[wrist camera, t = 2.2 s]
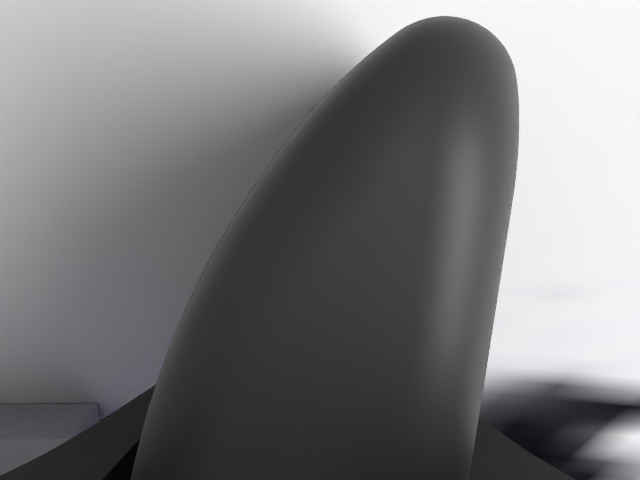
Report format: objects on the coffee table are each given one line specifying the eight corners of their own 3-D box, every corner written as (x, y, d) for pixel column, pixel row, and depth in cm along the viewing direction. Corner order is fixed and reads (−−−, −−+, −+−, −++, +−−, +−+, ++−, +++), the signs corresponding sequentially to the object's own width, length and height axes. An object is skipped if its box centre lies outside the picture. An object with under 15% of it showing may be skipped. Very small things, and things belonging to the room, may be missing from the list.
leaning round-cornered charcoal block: (254, 54, 12) (74, -36, 4) (438, 68, 12) (581, 0, 4) (229, 588, 15) (98, 1081, 7) (374, 606, 15) (391, 1127, 7)
